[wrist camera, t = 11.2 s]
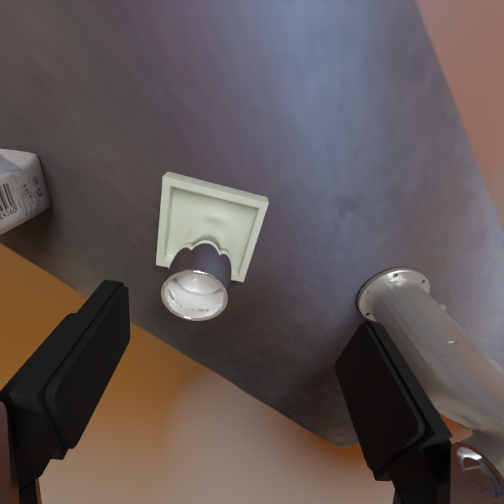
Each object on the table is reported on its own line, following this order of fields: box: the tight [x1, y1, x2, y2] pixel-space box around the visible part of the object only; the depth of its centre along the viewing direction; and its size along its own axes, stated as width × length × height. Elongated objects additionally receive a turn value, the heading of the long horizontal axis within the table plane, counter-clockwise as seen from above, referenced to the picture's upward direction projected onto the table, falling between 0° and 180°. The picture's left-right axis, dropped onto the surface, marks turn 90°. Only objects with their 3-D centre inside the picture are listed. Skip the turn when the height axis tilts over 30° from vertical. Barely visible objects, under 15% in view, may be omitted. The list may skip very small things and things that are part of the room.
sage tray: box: [156, 172, 268, 282], centre depth 36 cm, size 14×14×2 cm
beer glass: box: [161, 212, 232, 321], centre depth 30 cm, size 7×7×15 cm
